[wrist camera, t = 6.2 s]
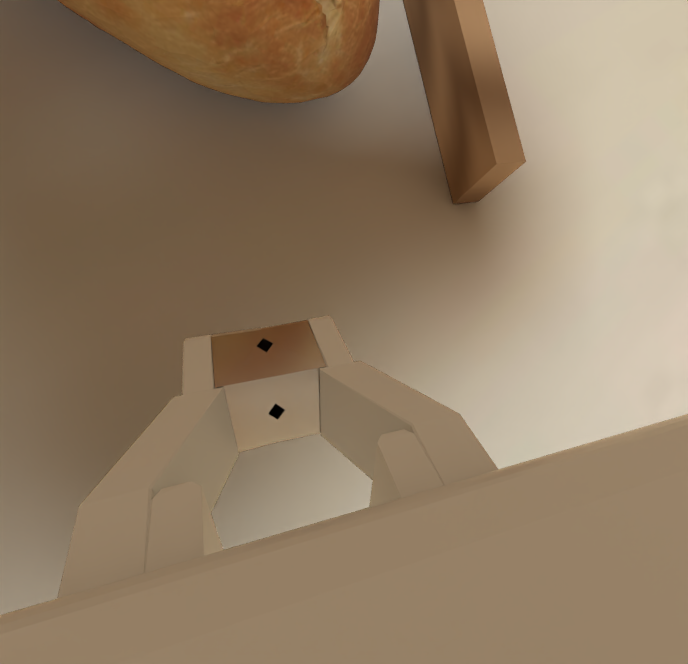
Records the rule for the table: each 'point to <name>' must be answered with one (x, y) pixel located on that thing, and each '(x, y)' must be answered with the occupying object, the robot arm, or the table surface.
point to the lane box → (465, 95)
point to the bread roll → (247, 41)
